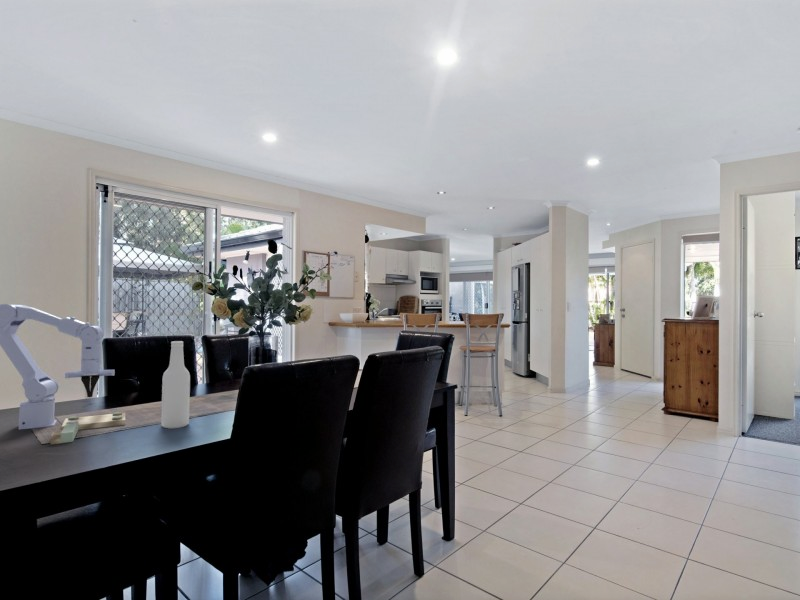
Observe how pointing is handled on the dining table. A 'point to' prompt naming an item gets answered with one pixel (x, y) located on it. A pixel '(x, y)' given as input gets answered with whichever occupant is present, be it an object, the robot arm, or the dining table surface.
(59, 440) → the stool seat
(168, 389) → the alcohol
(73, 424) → the hinged leg
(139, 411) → the dining table surface
